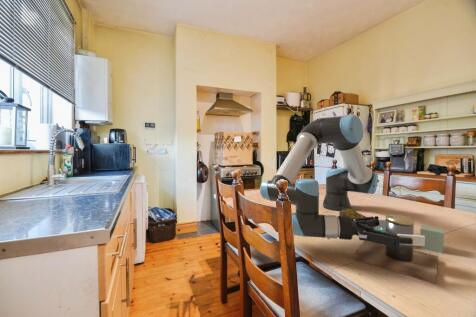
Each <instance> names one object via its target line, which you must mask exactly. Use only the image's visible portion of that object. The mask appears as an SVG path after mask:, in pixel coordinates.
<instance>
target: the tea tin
mask: <svg viewBox="0 0 476 317" xmlns="http://www.w3.org/2000/svg"><path fill="white" fill-rule="evenodd" d="M385 219H386V233H390V234H394V235H397V234H406V235H415V234H414V231H415V229H414V228H415V227H414V226H415V219H414V218H412V217H410V216H407V215H403V214H393V213H392V214H386V215H385ZM393 241H394V240H393ZM413 250H414V245H402V244H399V248H396V247H392V246H388V245H385V254H386V255H387V256H388V257H390V258H392V259H394V260H398V261H403V262H410V261H412V260H413Z"/></svg>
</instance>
